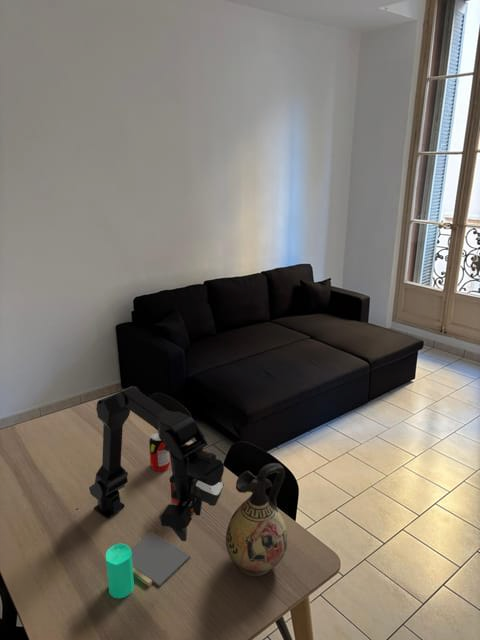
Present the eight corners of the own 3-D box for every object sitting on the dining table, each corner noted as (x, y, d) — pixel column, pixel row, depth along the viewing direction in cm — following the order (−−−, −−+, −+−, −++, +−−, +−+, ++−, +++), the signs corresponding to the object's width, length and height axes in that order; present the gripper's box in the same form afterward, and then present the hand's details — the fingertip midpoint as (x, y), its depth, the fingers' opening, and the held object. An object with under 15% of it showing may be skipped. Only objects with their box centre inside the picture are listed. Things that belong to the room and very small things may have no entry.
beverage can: (168, 459, 163) (166, 429, 159) (171, 470, 158) (170, 439, 154) (149, 463, 161) (147, 432, 157) (152, 474, 156) (150, 442, 152)
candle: (110, 577, 118) (107, 539, 114) (135, 576, 118) (132, 537, 114) (106, 599, 112) (102, 559, 108) (132, 597, 113) (129, 557, 109)
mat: (120, 559, 123) (120, 557, 123) (151, 533, 132) (151, 531, 132) (159, 586, 116) (159, 585, 115) (190, 557, 124) (190, 555, 124)
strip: (121, 566, 121) (121, 563, 121) (124, 564, 122) (124, 560, 121) (149, 587, 116) (149, 583, 115) (152, 584, 116) (152, 580, 116)
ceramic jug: (240, 597, 113) (242, 493, 103) (217, 550, 127) (217, 453, 117) (302, 574, 120) (310, 474, 110) (274, 531, 133) (279, 438, 123)
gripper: (203, 498, 100) (210, 560, 104) (229, 451, 117) (234, 506, 121) (154, 492, 103) (163, 553, 107) (186, 448, 120) (193, 502, 124)
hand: (191, 527), depth 115 cm, fingers open, 9 cm apart
